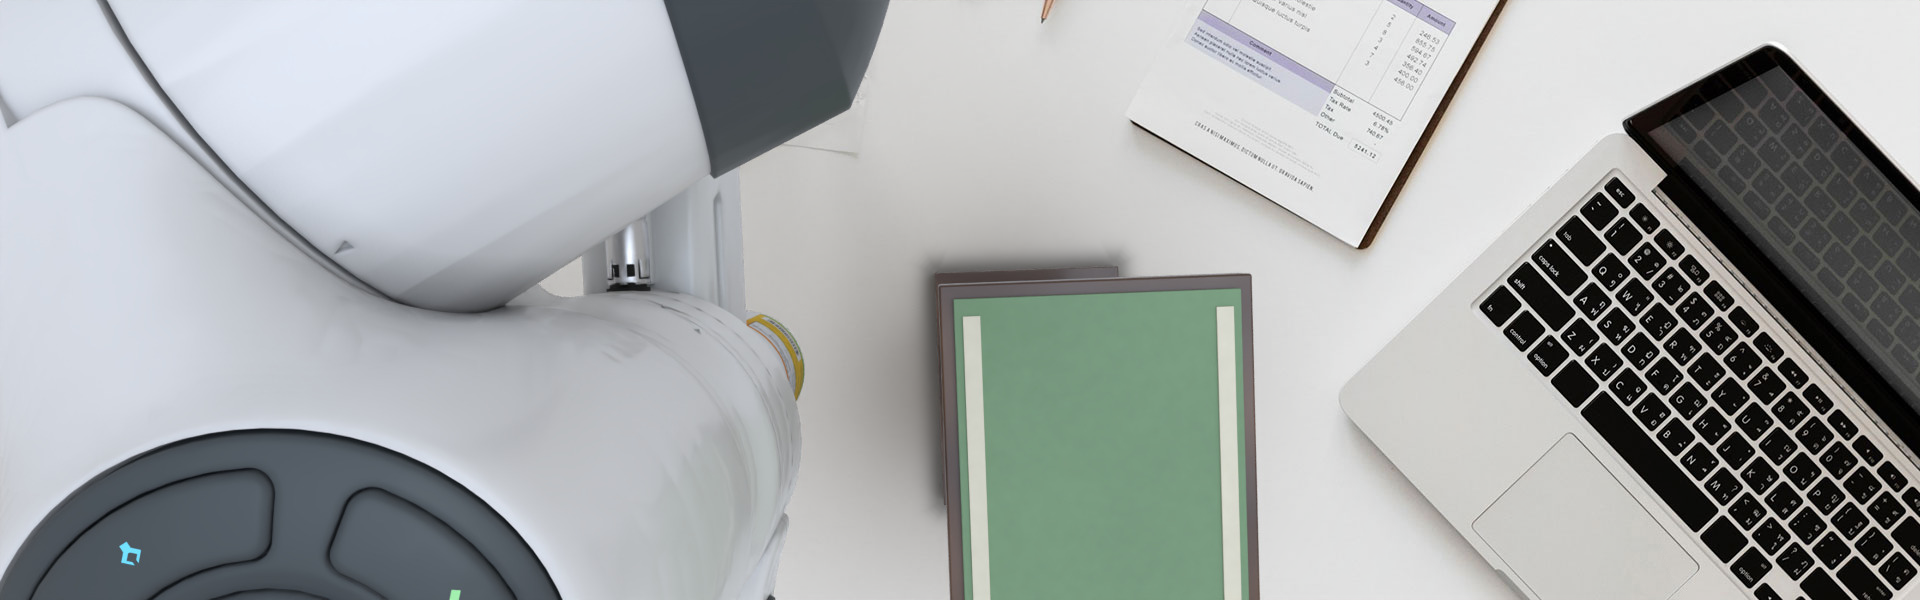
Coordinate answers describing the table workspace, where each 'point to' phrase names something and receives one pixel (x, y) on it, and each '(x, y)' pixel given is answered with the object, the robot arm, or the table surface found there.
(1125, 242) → the table surface
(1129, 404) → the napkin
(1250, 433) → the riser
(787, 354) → the supplement bottle
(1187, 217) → the table surface
